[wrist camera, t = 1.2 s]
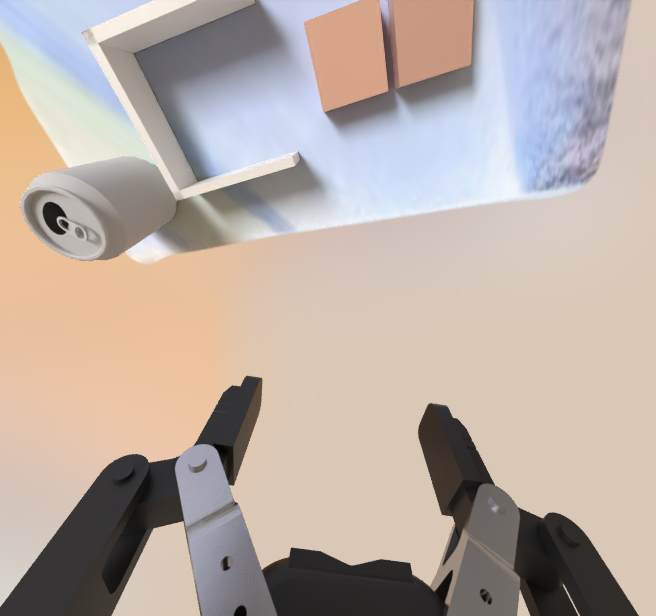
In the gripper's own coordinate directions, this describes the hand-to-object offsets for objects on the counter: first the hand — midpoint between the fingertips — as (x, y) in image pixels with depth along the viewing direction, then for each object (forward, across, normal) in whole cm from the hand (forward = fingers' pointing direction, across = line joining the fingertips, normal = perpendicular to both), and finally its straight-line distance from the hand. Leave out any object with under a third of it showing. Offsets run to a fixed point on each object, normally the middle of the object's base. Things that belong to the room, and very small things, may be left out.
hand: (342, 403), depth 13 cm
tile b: (+22, -4, -22) cm, 31 cm away
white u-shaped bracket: (+22, +15, -14) cm, 30 cm away
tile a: (+22, +3, -19) cm, 30 cm away
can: (+24, +24, -5) cm, 34 cm away
